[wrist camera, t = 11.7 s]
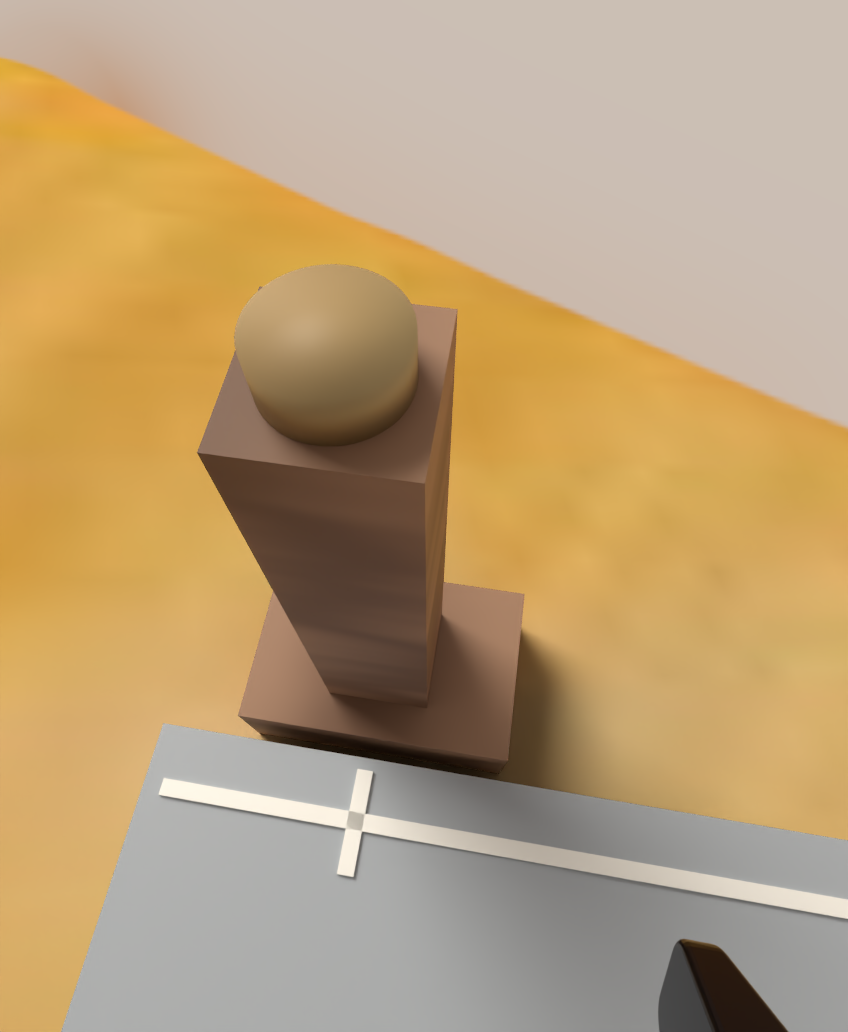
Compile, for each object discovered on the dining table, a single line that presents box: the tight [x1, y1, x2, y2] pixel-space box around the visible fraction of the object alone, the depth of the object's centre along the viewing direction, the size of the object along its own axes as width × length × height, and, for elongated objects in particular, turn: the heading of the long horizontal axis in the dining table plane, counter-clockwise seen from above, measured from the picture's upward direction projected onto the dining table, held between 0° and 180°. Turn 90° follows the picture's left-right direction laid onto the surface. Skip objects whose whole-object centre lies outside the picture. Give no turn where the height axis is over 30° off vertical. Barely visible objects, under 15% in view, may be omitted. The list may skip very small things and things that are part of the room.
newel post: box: [197, 264, 524, 774], centre depth 14 cm, size 7×4×15 cm, turn 81°
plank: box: [61, 723, 848, 1032], centre depth 16 cm, size 20×10×2 cm, turn 81°
